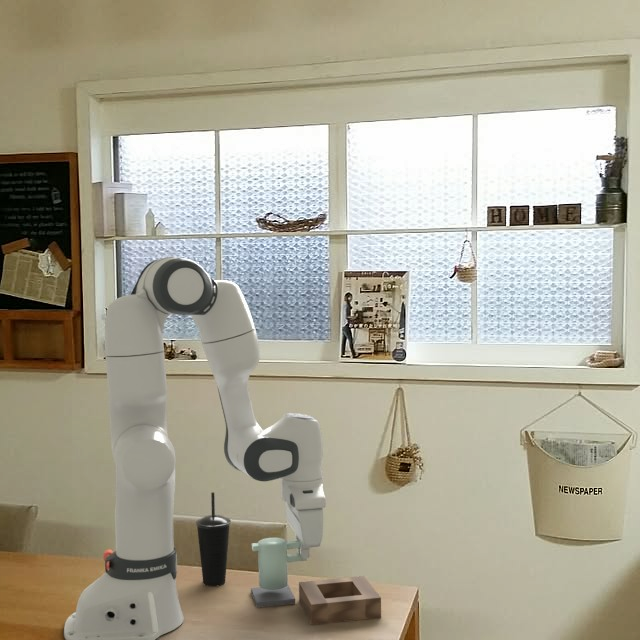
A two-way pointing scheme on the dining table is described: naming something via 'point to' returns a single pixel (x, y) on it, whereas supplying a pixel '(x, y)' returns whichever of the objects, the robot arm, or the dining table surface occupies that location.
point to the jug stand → (339, 600)
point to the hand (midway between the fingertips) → (303, 555)
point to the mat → (272, 596)
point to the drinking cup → (213, 546)
